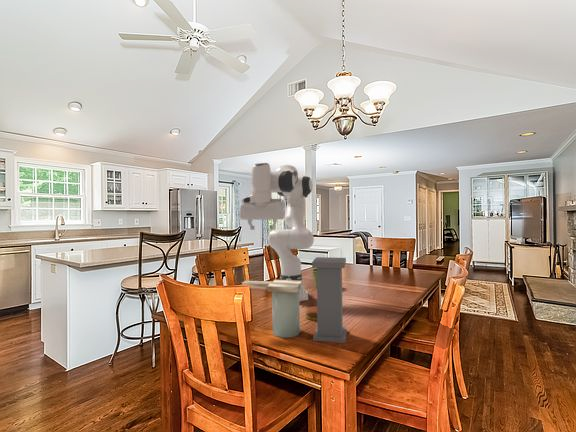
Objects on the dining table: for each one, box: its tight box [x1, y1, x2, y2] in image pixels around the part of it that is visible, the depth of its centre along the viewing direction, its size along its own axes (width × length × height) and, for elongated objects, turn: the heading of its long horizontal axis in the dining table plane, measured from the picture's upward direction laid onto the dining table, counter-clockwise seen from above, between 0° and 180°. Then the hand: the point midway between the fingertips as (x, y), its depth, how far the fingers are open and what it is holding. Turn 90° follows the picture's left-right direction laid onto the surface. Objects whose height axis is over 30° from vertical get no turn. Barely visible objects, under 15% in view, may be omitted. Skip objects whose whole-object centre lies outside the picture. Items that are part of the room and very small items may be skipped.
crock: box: [271, 291, 301, 339], centre depth 128 cm, size 11×11×18 cm
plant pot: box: [311, 267, 317, 289], centre depth 200 cm, size 12×12×11 cm
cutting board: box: [241, 279, 304, 293], centre depth 129 cm, size 12×24×2 cm, turn 77°
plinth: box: [311, 256, 348, 344], centre depth 123 cm, size 12×12×30 cm
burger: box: [305, 305, 317, 322], centre depth 144 cm, size 10×9×5 cm
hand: (262, 229), depth 141 cm, fingers open, 8 cm apart
